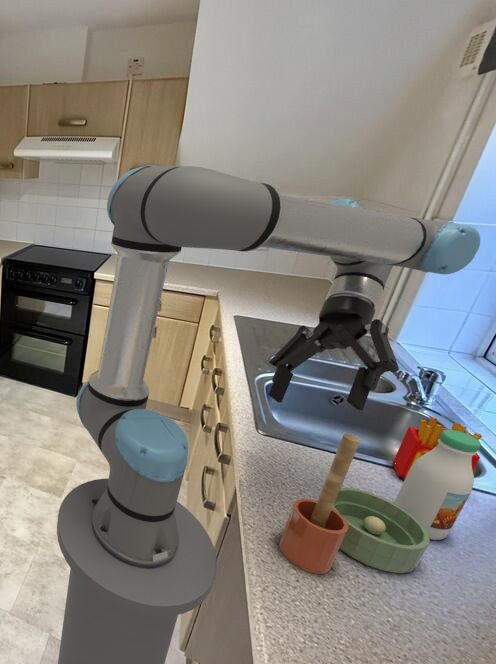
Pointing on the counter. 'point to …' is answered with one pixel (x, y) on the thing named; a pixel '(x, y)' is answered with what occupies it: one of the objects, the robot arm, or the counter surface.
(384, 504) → the bowl
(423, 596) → the counter surface
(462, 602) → the counter surface
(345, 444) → the stirring stick
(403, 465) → the french fries container
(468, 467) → the milk bottle
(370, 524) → the ball
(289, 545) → the utensil cup
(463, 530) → the counter surface
